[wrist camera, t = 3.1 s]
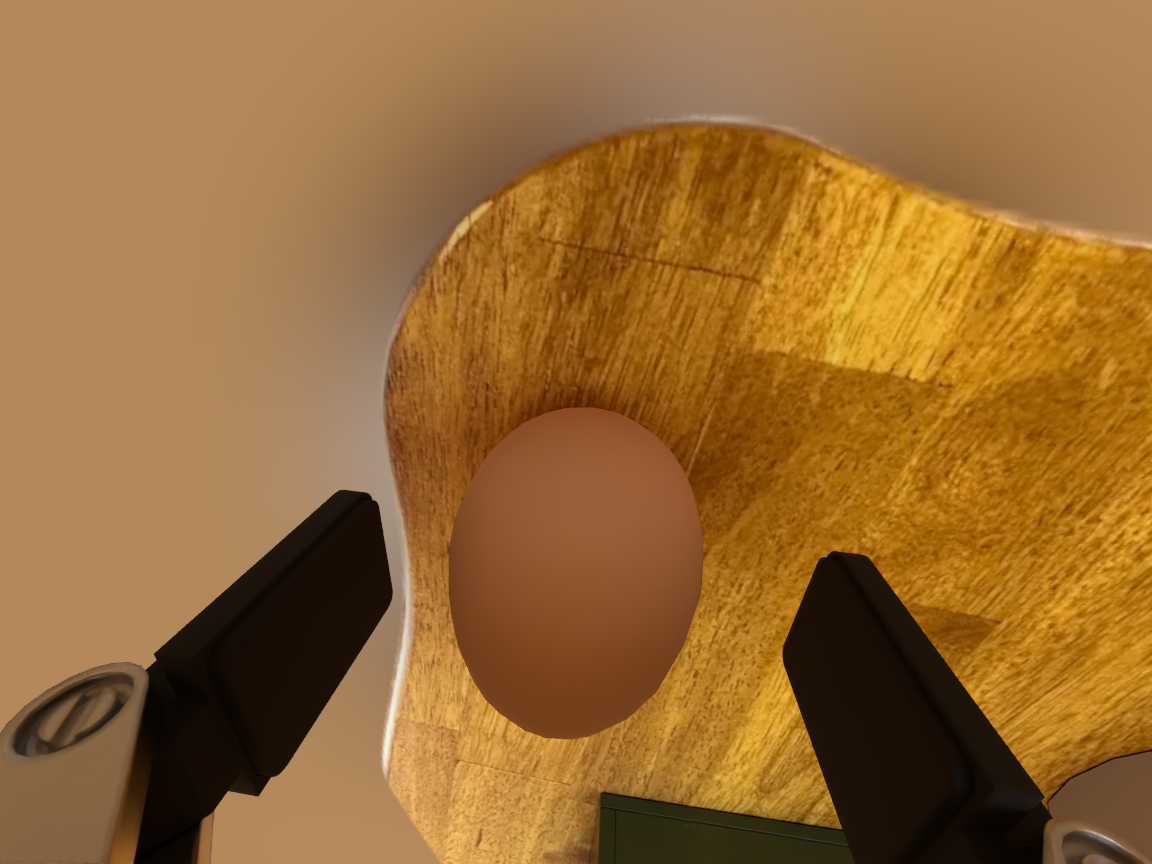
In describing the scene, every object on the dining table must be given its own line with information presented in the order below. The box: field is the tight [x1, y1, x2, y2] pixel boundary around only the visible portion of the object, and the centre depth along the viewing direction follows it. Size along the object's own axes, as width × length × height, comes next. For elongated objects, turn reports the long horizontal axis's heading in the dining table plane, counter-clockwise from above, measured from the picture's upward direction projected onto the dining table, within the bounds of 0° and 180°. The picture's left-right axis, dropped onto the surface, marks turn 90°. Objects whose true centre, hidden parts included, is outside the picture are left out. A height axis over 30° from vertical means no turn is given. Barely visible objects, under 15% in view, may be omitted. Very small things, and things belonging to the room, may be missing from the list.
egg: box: [449, 407, 704, 739], centre depth 10 cm, size 6×6×8 cm
